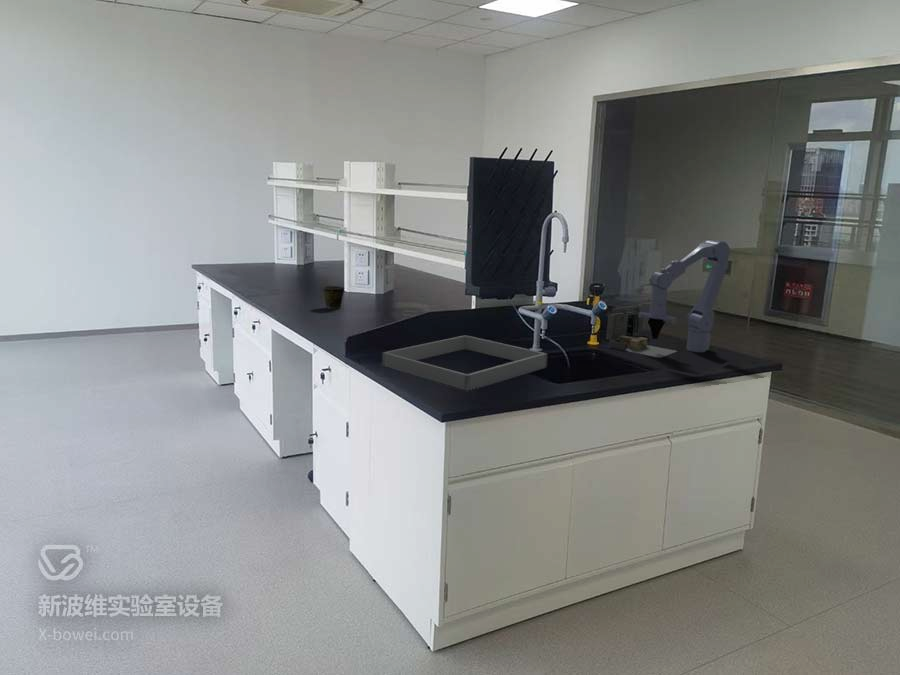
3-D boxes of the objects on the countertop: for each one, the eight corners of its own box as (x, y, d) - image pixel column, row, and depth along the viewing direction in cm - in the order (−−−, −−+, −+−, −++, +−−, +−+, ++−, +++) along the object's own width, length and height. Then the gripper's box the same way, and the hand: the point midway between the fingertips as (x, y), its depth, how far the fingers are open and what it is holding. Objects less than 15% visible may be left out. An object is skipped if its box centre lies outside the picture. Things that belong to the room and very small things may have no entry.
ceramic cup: (325, 305, 343) (325, 285, 341) (345, 306, 343) (345, 286, 341) (320, 310, 331) (320, 289, 329) (341, 311, 331) (341, 290, 329)
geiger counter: (616, 308, 287) (654, 304, 302) (604, 305, 292) (643, 301, 307) (612, 341, 290) (651, 335, 305) (601, 338, 295) (639, 332, 310)
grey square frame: (464, 347, 268) (465, 335, 267) (546, 367, 245) (547, 353, 244) (381, 367, 236) (382, 352, 235) (466, 391, 213) (467, 375, 211)
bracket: (626, 341, 287) (627, 335, 286) (643, 344, 282) (643, 338, 282) (608, 346, 275) (608, 341, 275) (625, 350, 271) (625, 344, 270)
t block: (626, 342, 284) (626, 334, 283) (646, 347, 278) (647, 338, 277) (615, 346, 277) (616, 337, 276) (636, 350, 271) (637, 341, 271)
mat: (626, 343, 288) (626, 341, 287) (677, 353, 273) (678, 351, 273) (607, 349, 276) (607, 346, 275) (659, 360, 262) (660, 357, 261)
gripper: (635, 302, 269) (632, 336, 272) (671, 307, 260) (668, 343, 263) (644, 300, 274) (641, 334, 277) (679, 305, 265) (676, 340, 268)
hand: (654, 338), depth 270 cm, fingers closed
